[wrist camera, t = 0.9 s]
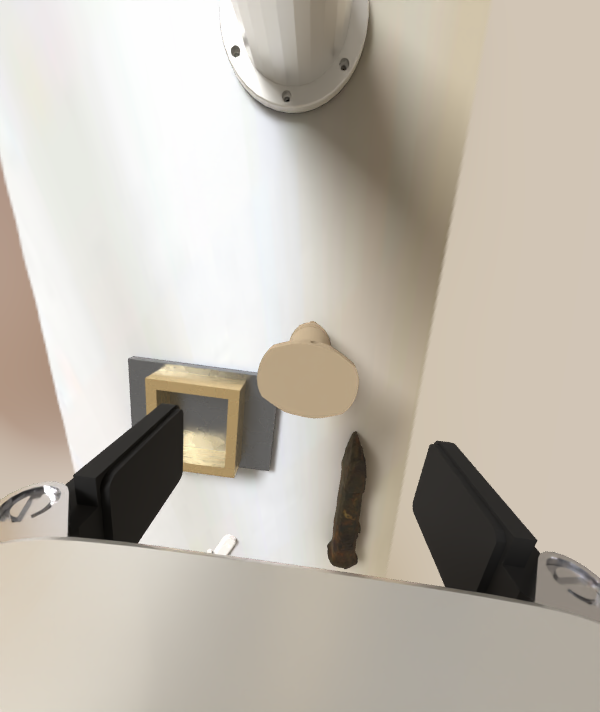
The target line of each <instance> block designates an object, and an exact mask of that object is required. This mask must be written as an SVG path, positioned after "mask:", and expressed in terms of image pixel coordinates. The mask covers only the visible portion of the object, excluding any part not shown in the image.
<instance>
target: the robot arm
mask: <svg viewBox="0 0 600 712" xmlns="http://www.w3.org/2000/svg"><path fill="white" fill-rule="evenodd" d="M368 19H369V0H221V3H220V26H221V32H222V38H223V43H224V47H225V50H226V53H227V55H228V58H229V61H230V63H231V66H232V68H233V70H234V72H235V75H236V76H237V78H238V79H239V81H240V82H241V84H242V85H243V87H244V88H245V89H246V90H247V91H248V92H249V93H250V94H251V95H252V96H253V98H255V99H256V100H258V101H259V102H260V103H262V104H263V105H265V106H267V107H269V108H272V109H274V110H276V111H281V112H286V113H301V112H306V111H309V110H313V109H316V108H317V107H319V106H321V105H323V104H325V103H327V102H328V101H329V100H330V99H332V98H333V97H334V96H335V95H337V94H338V93H339V92H340V90H341V89H342V88H343V87H344V86H345V84H346V83H347V82H348V80H349V79H350V77H351V75H352V74H353V72H354V70H355V68H356V66H357V64H358V61H359V59H360V56H361V54H362V50H363V46H364V42H365V38H366V33H367V26H368ZM238 56H239V57H238ZM342 69H345V71H343V70H342ZM286 100H289V102H285V101H286ZM183 416H184V414H183V410H181V409H179V406H178V405H173V404H165V403H162V404H160V405H159V406H157V407H156V408H155V409H154V410H153V411H151V412H150V413H149V414H148V415H146V416H145V417H144V418H143V419H141V420H140V421H139V422H138V423H137V424H135V425H134V426H133V427H132V428H130V429H129V430H128V431H127V432H126V433H124V434H123V435H122V436H121V437H119V438H118V439H117V440H116V441H114V442H113V443H112V444H111V445H110V446H108V447H107V448H106V449H105V450H103V451H102V452H101V453H100V454H99V455H97V456H96V457H95V458H94V459H92V460H91V461H90V462H89V463H88V464H86V465H85V466H84V467H83V468H81V469H80V470H79V471H78V472H76V473H75V474H74V475H73V477H74V478H73V479H72V480H70V482H68V483H67V484H66V485H64V484H62V483H59V482H43V483H37V484H33V485H29V486H27V487H23V488H21V489H19V490H17V491H14V492H12V493H10V494H9V495H7V496H5V497H4V498H2V499H1V500H0V712H600V578H599V577H598V576H597V575H595V574H594V573H593V572H591V571H590V570H589V569H587V568H586V567H585V566H583V565H581V564H580V563H578V562H576V561H575V560H573V559H571V558H568V557H566V556H564V555H561V554H558V553H555V552H543V553H541V554H540V553H539V551H538V550H537V549H536V548H535V547H534V546H535V544H536V542H537V540H536V539H535V537H534V536H533V535H532V534H531V532H530V531H529V530H528V529H527V528H526V527H525V525H524V524H523V523H522V522H521V521H520V520H519V519H518V517H517V516H516V515H515V514H514V513H513V511H512V510H511V509H510V508H509V507H508V506H507V504H506V503H505V502H504V501H503V500H502V499H501V497H500V496H499V495H498V494H497V493H496V492H495V490H494V489H493V488H492V487H491V486H490V485H489V483H488V482H487V481H486V480H485V479H484V478H483V476H482V475H481V474H480V473H479V472H478V471H477V470H476V468H475V467H474V466H473V465H472V463H471V462H470V461H469V460H468V459H467V458H466V457H465V455H464V454H463V453H462V452H461V451H460V449H459V448H458V447H457V446H456V445H455V444H454V443H450V442H443V441H436V442H435V443H434V444H431V445H430V446H429V449H428V452H427V456H426V459H425V463H424V466H423V469H422V473H421V476H420V480H419V483H418V486H417V490H416V493H415V497H414V500H413V512H414V515H415V517H416V519H417V522H418V524H419V527H420V529H421V531H422V533H423V536H424V538H425V541H426V543H427V545H428V548H429V550H430V552H431V555H432V557H433V559H434V561H435V564H436V566H437V569H438V571H439V573H440V576H441V578H442V580H443V583H444V585H445V587H441V586H434V585H427V584H421V583H414V582H407V581H401V580H394V579H387V578H381V577H374V576H367V575H361V574H354V573H347V572H340V571H333V570H326V569H319V568H312V567H306V566H298V565H291V564H284V563H277V562H270V561H263V560H256V559H249V558H242V557H235V556H227V555H220V554H213V553H205V552H198V551H191V550H183V549H176V548H169V547H161V546H154V545H146V544H138V542H139V541H140V539H141V538H142V536H143V535H144V533H145V532H146V530H147V529H148V527H149V526H150V524H151V523H152V521H153V520H154V518H155V517H156V515H157V514H158V512H159V511H160V509H161V508H162V506H163V505H164V503H165V502H166V500H167V499H168V497H169V496H170V494H171V493H172V491H173V490H174V488H175V487H176V485H177V484H178V482H179V480H180V479H181V476H182V473H183Z"/></svg>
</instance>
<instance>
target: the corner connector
mask: <svg viewBox="0 0 600 712" xmlns="http://www.w3.org/2000/svg"><path fill="white" fill-rule="evenodd" d="M236 541H237V540H236V537H234V536H232V535H230V534H229V535H225V536H224V537H223V538H222V540H221V541H220V543H219V544H218V546H217V547H216V549H215V550H214V552H213V554H220V555H228V554H229V552H230V551H231V550H232V548H233V547H234V545H235V544H236ZM207 553H212V550H211V549H209V550H208V551H207Z"/></svg>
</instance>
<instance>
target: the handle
mask: <svg viewBox="0 0 600 712" xmlns="http://www.w3.org/2000/svg"><path fill="white" fill-rule="evenodd" d="M257 385H258V389H259V392H260V394H261V396H262V397H263V398H265V399H266V400H267V401H269V402H270V403H272V404H273V405H274V406H276V407H277V408H279V409H281V410H282V411H284V412H287V413H290V414H294V415H298V416H303V417H308V418H324V417H330V416H335V415H340V414H343V413H344V412H345V411H347V410H348V408H349V407H350V406H351V405H352V403H353V402H354V400H355V397H356V395H357V391H358V386H359V377H358V373H357V370H356V367H355V365H354V363H353V362H352V361H350V360H349V359H348V358H347V357H345V356H344V355H343V354H342V353H340V352H339V351H337V350H336V349H334V348H333V347H332V346H331V345H330V340H329V337H328V335H327V333H326V331H325V330H324V329H323V328H322V327H321V326H320V325H318V324H317V323H316V322H314V321H310V323H304V324H302V325H300V326H299V327H298V328H297V329H296V330H295V331H294V332H293V334H292V336H291V338H290V341H287V342H283V343H279V344H275V345H273V346H272V347H271V348H270V349H269V350H268V351H267V352H266V354H265V355H264V356H263V358H262V360H261V362H260V365H259V369H258V374H257Z"/></svg>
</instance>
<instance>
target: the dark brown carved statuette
mask: <svg viewBox="0 0 600 712" xmlns="http://www.w3.org/2000/svg"><path fill="white" fill-rule="evenodd" d="M341 466H342V471H341V479H340V485H339V492H338V497H337V507H336V513H335V518H334V527H333V537H332V540H331V541H330V543H329V544H328V545H327V548H328V558H329V560H330V562H331V564H332V565H333V566H336V567H339V568H344V569H348V568H350V567H352V566H354V565H356V564H357V562H358V561H357V559H358V558H357V554H356V553H355V546H356V539H357V537H358V533H360V523H359V516H360V507H361V499H362V493H363V492H364V490H365V483H366V462H365V458H364V454H363V449H362V446H361V445H360V441H359V438H358V435H357V432H356V431H355V432H354V433H353V434H352V436H351V438H350V440H349V442H348V445H347V447H346V449H345V454H344V457H343V460H342V463H341Z"/></svg>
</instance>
